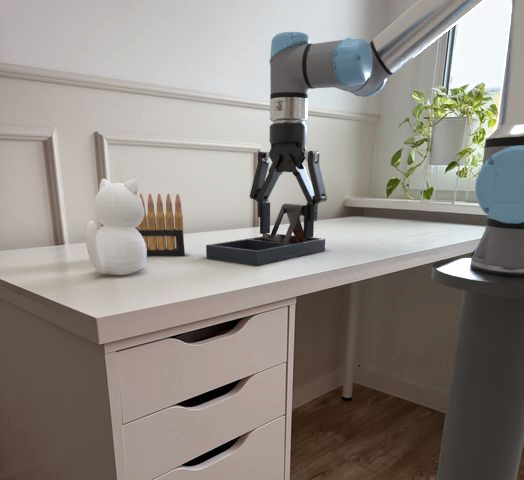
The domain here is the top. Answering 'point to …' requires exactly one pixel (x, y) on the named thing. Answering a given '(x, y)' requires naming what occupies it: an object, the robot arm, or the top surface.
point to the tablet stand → (295, 225)
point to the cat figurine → (117, 229)
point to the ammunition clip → (163, 228)
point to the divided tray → (263, 250)
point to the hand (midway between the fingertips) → (285, 235)
